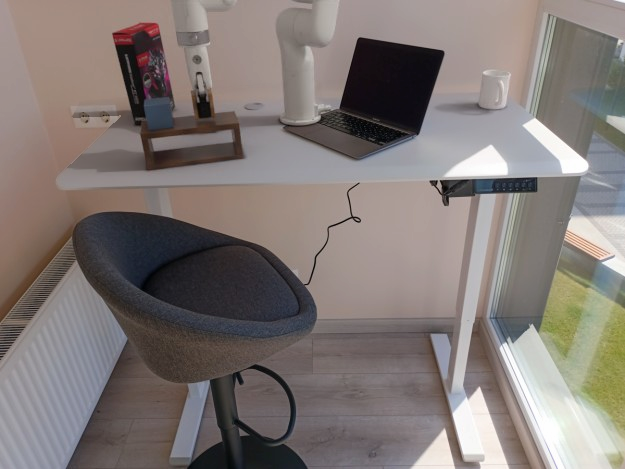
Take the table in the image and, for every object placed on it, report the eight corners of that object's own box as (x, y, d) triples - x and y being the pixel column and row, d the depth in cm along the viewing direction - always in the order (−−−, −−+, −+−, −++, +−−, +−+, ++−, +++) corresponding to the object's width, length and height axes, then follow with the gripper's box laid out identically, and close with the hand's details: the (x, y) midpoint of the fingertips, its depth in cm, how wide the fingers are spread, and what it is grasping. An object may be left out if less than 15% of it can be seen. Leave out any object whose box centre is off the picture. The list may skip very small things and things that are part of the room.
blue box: (173, 120, 130) (169, 96, 127) (173, 127, 125) (169, 103, 122) (149, 122, 129) (144, 99, 126) (148, 130, 124) (143, 106, 121)
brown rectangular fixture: (238, 144, 140) (234, 110, 135) (243, 158, 132) (239, 122, 127) (149, 155, 135) (141, 121, 130) (148, 170, 127) (140, 134, 122)
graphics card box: (152, 126, 155) (133, 32, 141) (132, 125, 157) (110, 32, 142) (176, 109, 170) (160, 21, 155) (157, 108, 171) (139, 22, 157)
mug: (512, 113, 154) (518, 79, 149) (485, 114, 155) (490, 80, 149) (500, 101, 164) (506, 69, 159) (475, 102, 165) (479, 70, 159)
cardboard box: (213, 111, 131) (210, 88, 128) (215, 117, 127) (212, 93, 124) (194, 113, 130) (190, 90, 127) (195, 119, 126) (191, 95, 123)
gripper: (212, 43, 113) (222, 122, 122) (207, 31, 127) (216, 102, 136) (177, 46, 111) (190, 126, 121) (176, 33, 125) (188, 105, 135)
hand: (204, 113), depth 128 cm, fingers closed on cardboard box, 5 cm apart
